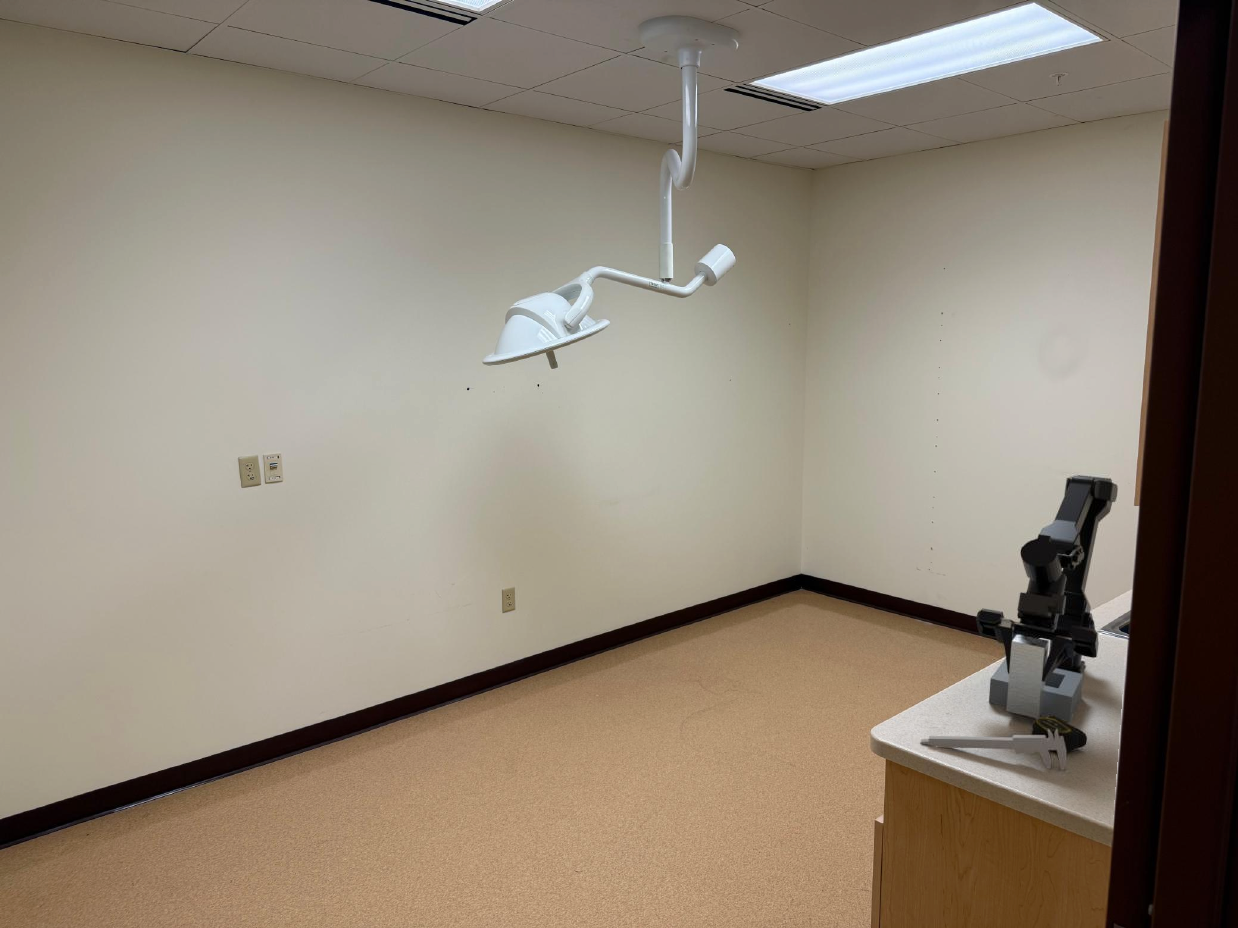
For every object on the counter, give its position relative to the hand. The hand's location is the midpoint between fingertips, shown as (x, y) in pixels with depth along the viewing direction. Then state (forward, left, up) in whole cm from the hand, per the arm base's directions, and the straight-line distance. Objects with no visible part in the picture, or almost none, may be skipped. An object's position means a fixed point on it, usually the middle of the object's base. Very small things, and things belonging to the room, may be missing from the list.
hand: (1025, 676), depth 142 cm
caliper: (+15, -2, -9) cm, 18 cm away
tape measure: (+5, +6, -9) cm, 12 cm away
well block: (-11, 0, -8) cm, 14 cm away
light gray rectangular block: (-1, 0, -7) cm, 7 cm away
